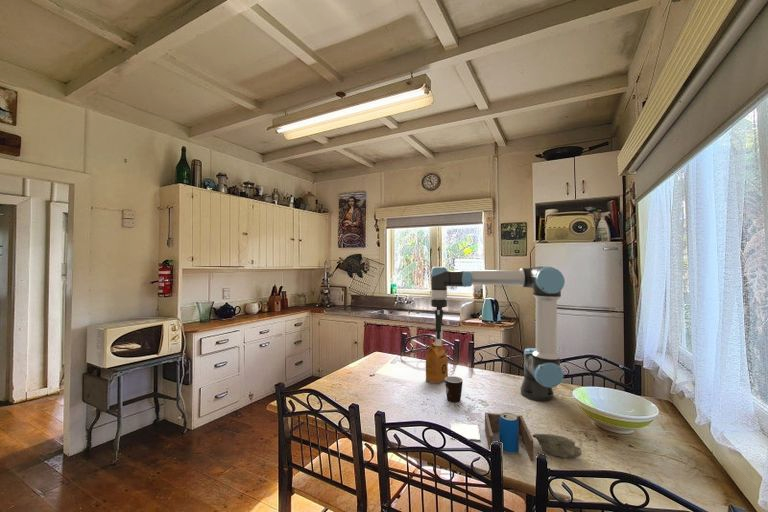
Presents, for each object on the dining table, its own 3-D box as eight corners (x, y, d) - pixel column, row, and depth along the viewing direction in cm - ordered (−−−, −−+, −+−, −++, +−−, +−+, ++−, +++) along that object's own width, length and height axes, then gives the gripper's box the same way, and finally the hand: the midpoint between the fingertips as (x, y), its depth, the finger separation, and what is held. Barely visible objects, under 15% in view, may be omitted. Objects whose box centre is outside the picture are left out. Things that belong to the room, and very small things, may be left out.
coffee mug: (463, 404, 154) (463, 383, 154) (444, 403, 156) (444, 381, 156) (462, 394, 166) (462, 374, 166) (444, 393, 167) (444, 373, 167)
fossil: (566, 474, 110) (584, 455, 114) (563, 452, 106) (582, 433, 110) (529, 446, 122) (546, 430, 126) (526, 425, 119) (543, 409, 123)
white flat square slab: (478, 426, 134) (478, 425, 134) (480, 441, 123) (480, 439, 123) (450, 424, 136) (450, 422, 136) (450, 438, 125) (450, 436, 125)
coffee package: (450, 380, 186) (450, 341, 186) (437, 385, 177) (437, 344, 177) (436, 375, 193) (436, 337, 193) (423, 381, 184) (423, 341, 185)
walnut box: (522, 433, 129) (522, 415, 129) (533, 461, 111) (533, 440, 111) (484, 429, 131) (484, 412, 131) (490, 456, 114) (490, 436, 114)
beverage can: (502, 442, 122) (502, 410, 122) (520, 449, 118) (520, 415, 118) (496, 450, 117) (496, 416, 117) (515, 457, 113) (514, 422, 113)
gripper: (433, 295, 173) (433, 335, 173) (429, 301, 149) (429, 348, 149) (447, 295, 172) (447, 336, 172) (446, 301, 147) (446, 349, 147)
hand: (439, 342), depth 160 cm, fingers open, 13 cm apart
